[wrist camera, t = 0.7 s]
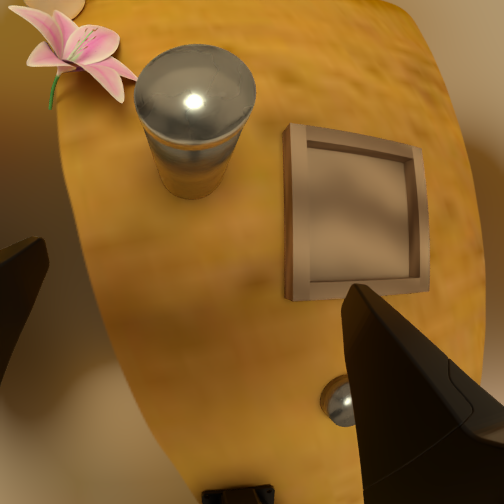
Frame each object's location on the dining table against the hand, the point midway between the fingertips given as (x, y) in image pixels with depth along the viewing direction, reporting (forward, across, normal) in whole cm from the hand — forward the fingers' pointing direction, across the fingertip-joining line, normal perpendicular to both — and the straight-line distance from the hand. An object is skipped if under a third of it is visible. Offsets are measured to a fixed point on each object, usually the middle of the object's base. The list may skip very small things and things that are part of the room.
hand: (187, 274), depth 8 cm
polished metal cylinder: (+14, +2, +2) cm, 15 cm away
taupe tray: (+15, -11, +4) cm, 19 cm away
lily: (+18, +12, -4) cm, 22 cm away
